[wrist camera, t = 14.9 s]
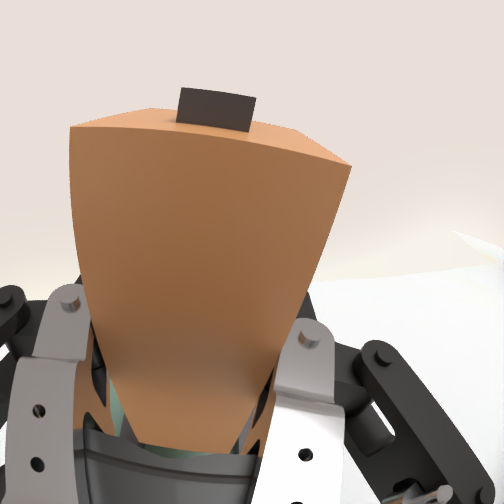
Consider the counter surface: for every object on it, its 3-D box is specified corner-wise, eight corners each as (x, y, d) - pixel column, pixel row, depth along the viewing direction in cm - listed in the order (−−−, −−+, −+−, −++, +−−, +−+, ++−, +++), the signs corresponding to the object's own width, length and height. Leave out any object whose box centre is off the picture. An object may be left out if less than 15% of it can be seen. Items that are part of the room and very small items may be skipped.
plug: (228, 454, 10) (364, 126, 3) (138, 442, 9) (72, 86, 3) (228, 383, 13) (300, 110, 7) (151, 373, 12) (153, 87, 6)
